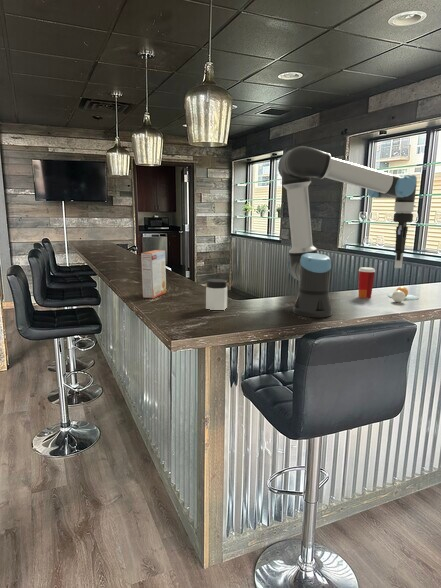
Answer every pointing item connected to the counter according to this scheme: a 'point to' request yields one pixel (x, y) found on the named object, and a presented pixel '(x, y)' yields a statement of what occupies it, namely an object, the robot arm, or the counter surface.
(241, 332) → the counter surface
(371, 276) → the paper cup
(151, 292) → the cracker box
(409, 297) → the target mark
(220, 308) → the jar
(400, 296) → the cue ball
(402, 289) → the object ball
